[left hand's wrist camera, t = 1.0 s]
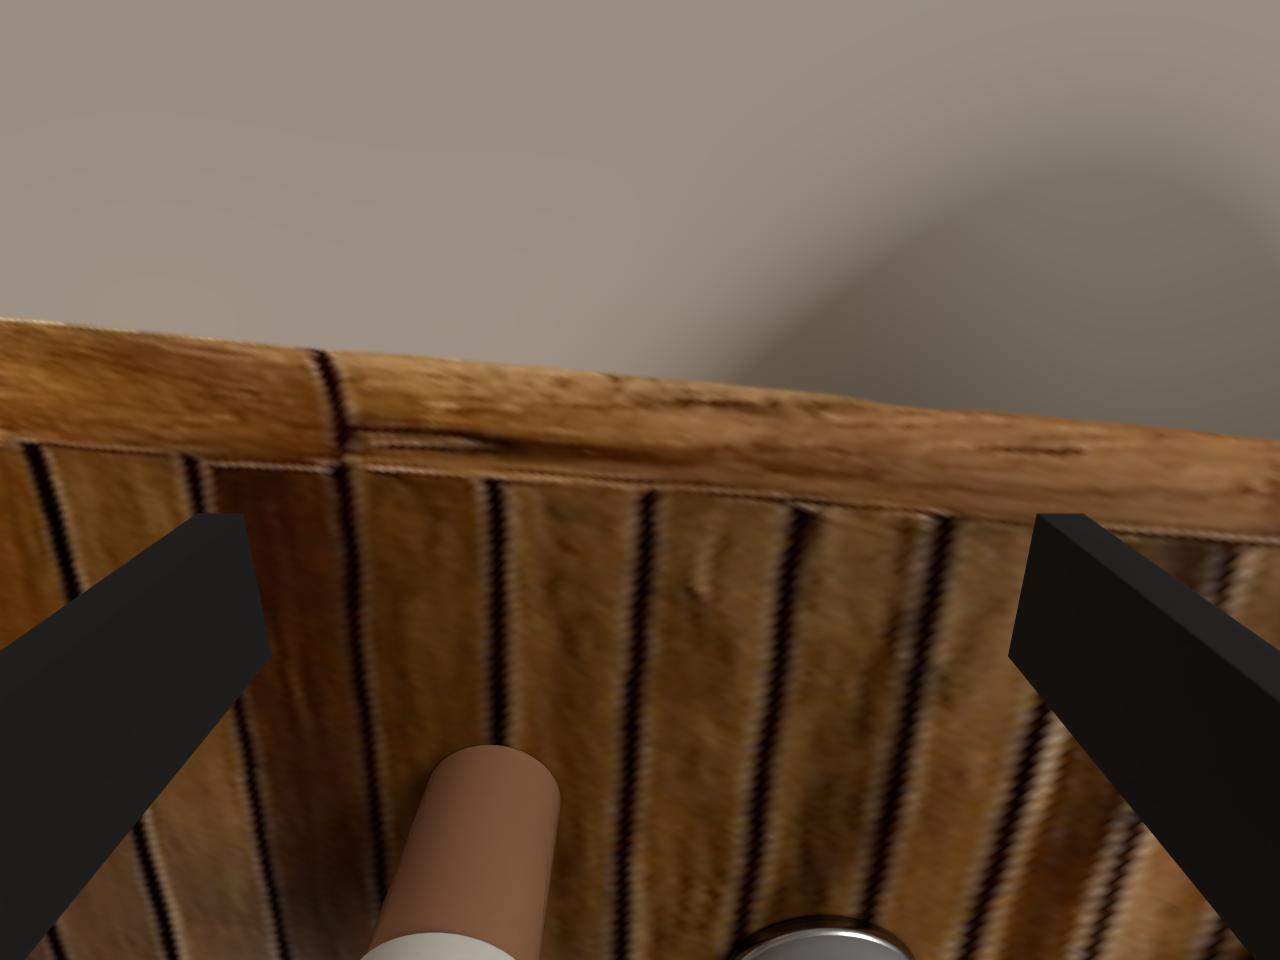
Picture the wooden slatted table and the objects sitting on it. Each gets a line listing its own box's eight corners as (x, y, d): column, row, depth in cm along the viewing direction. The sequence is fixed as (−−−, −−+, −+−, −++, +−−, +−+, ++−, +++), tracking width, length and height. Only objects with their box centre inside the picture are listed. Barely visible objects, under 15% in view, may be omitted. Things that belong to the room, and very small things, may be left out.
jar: (398, 782, 49) (301, 1015, 35) (507, 722, 48) (452, 941, 33) (480, 868, 52) (421, 1117, 38) (586, 814, 50) (566, 1053, 36)
